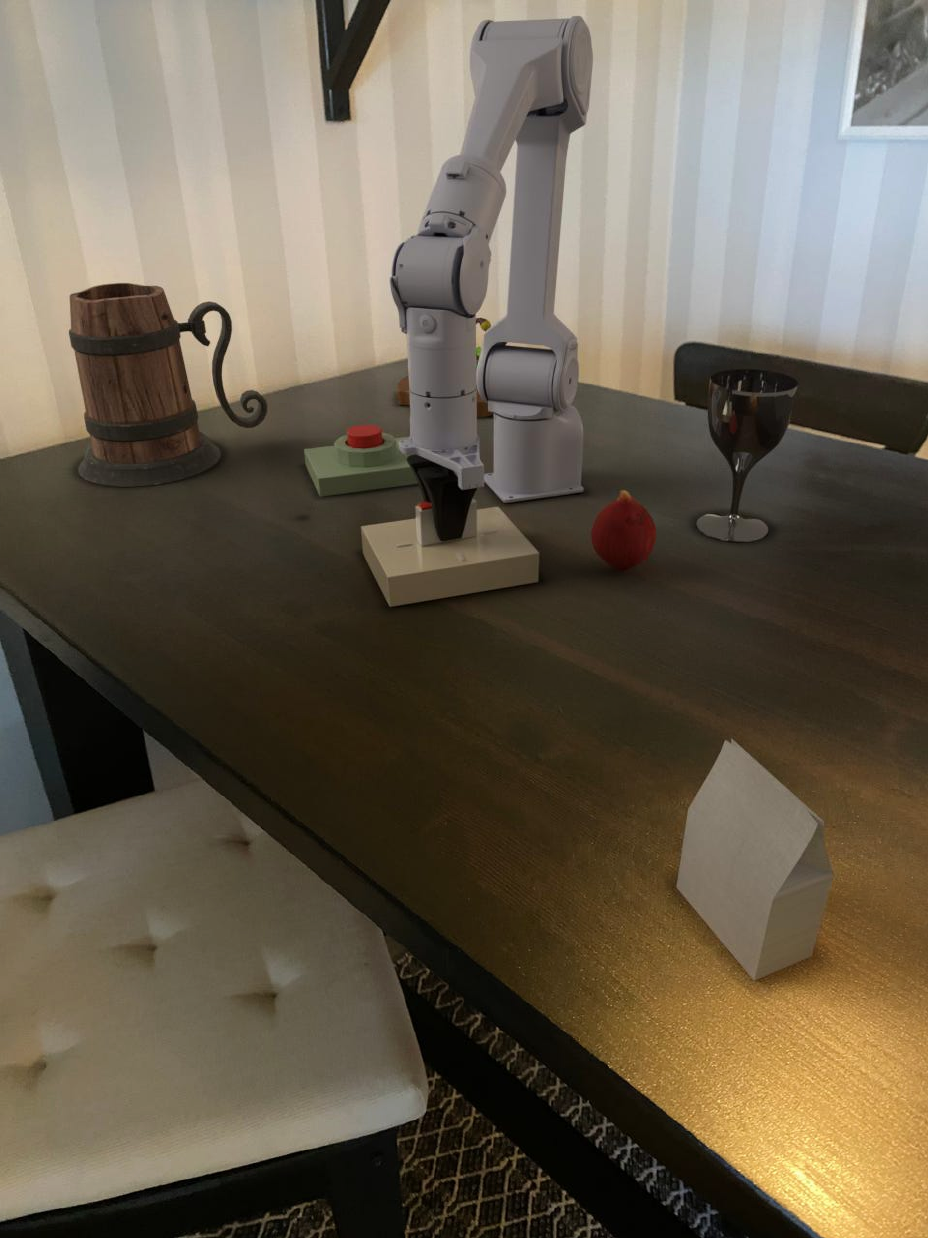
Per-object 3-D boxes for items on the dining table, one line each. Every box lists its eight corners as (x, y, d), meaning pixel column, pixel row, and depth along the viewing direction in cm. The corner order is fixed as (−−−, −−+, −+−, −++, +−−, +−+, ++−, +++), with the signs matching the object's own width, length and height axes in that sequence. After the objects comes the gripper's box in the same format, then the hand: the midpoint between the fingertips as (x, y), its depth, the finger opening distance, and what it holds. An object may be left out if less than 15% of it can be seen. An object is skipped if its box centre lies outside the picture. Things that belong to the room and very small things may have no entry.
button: (378, 437, 106) (377, 422, 105) (386, 448, 103) (385, 433, 102) (345, 441, 105) (343, 426, 104) (351, 452, 102) (350, 437, 101)
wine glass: (778, 518, 93) (803, 373, 86) (765, 549, 87) (792, 396, 80) (701, 506, 96) (719, 365, 89) (684, 535, 90) (702, 387, 83)
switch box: (471, 530, 85) (471, 493, 83) (477, 536, 84) (477, 499, 82) (416, 540, 83) (414, 503, 81) (421, 546, 82) (419, 508, 80)
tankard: (86, 496, 101) (41, 312, 91) (71, 450, 114) (30, 285, 104) (289, 461, 110) (268, 289, 100) (253, 422, 123) (232, 266, 113)
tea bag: (754, 981, 46) (787, 835, 40) (676, 887, 51) (697, 748, 46) (811, 956, 47) (851, 812, 42) (729, 867, 52) (756, 730, 47)
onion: (656, 561, 85) (664, 482, 81) (646, 589, 81) (655, 507, 77) (596, 553, 87) (601, 475, 83) (582, 580, 82) (587, 499, 78)
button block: (410, 453, 112) (408, 421, 110) (432, 482, 103) (431, 448, 101) (305, 466, 108) (302, 434, 106) (320, 497, 100) (316, 463, 98)
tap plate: (498, 533, 91) (498, 504, 90) (538, 582, 82) (539, 551, 81) (362, 554, 88) (360, 524, 86) (389, 607, 79) (387, 575, 77)
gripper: (375, 371, 81) (384, 510, 88) (423, 419, 69) (429, 575, 76) (449, 363, 83) (452, 500, 90) (508, 408, 71) (507, 561, 78)
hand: (446, 534), depth 83 cm, fingers closed on switch box
